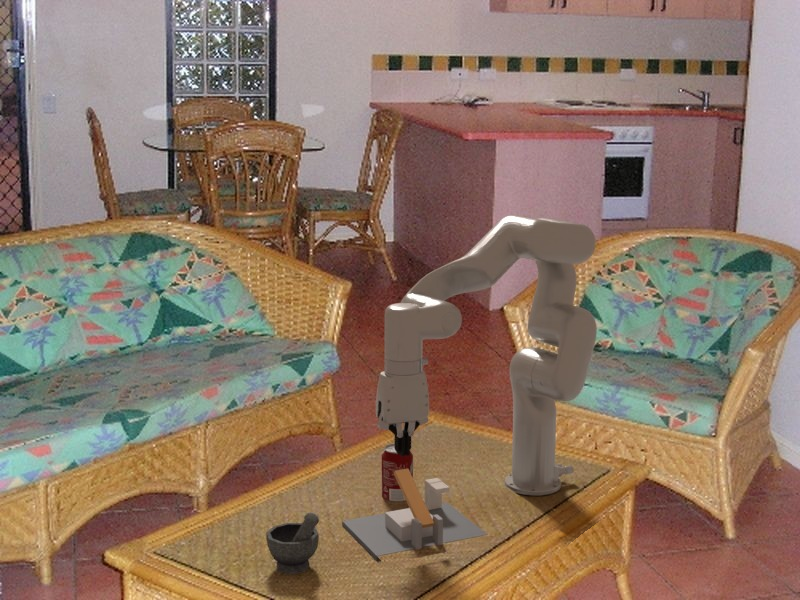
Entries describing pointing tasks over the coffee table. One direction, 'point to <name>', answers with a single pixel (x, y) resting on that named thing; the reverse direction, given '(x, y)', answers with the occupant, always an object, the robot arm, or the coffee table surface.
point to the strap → (413, 497)
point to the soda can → (389, 465)
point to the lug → (434, 493)
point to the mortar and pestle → (294, 544)
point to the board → (391, 544)
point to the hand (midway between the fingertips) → (402, 453)
